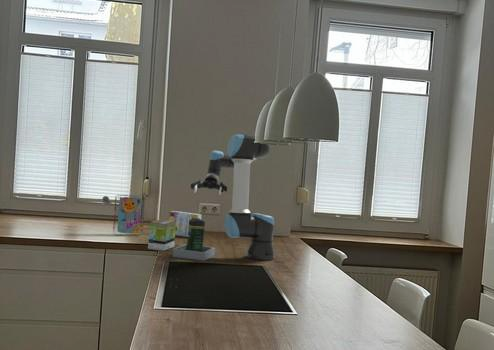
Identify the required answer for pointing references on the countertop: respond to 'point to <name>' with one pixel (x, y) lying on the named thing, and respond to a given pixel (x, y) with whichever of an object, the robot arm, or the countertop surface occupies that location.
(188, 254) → the tray
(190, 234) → the coffee jar
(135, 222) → the box
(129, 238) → the countertop surface
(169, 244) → the tea box
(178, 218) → the snack box
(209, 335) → the countertop surface
